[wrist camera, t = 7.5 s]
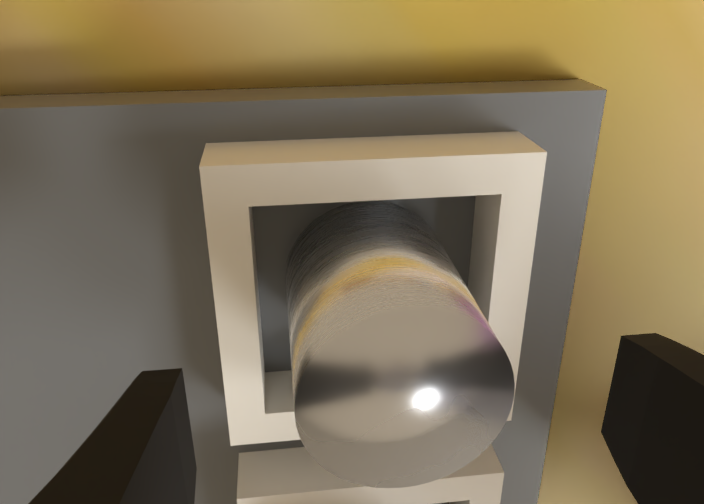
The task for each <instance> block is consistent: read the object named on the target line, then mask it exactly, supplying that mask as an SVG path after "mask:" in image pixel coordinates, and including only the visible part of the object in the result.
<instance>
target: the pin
mask: <svg viewBox="0 0 704 504" xmlns="http://www.w3.org/2000/svg"><path fill="white" fill-rule="evenodd" d="M286 294H287V309H288V324H289V339H290V353H291V368H292V383H293V398H294V413H295V421H296V427H297V430H298V434H299V437H300V439H301V441H302V443H303V445H304V447H305V448H306V450H307V451H308V452H309V454H310V455H311V456H312V457H313V459H314V460H315V461H316V462H317V463H318V464H319V465H321V466H322V467H323V468H325V469H326V470H327V471H329V472H330V473H332V474H334V475H336V476H337V477H339V478H342V479H344V480H347V481H349V482H352V483H355V484H359V485H363V486H369V487H375V488H404V487H411V486H417V485H421V484H425V483H429V482H432V481H435V480H438V479H441V478H443V477H445V476H447V475H450V474H452V473H454V472H456V471H457V470H459V469H461V468H463V467H464V466H466V465H467V464H469V463H470V462H471V461H473V460H474V459H476V458H477V457H478V456H479V455H480V454H481V453H482V452H484V451H485V450H486V449H487V448H488V446H489V445H490V444H491V443H492V442H493V441H494V440H495V438H496V437H497V436H498V434H499V433H500V431H501V430H502V428H503V426H504V424H505V422H506V421H507V418H508V416H509V413H510V411H511V408H512V403H513V399H514V388H515V383H514V373H513V370H512V366H511V362H510V360H509V358H508V356H507V354H506V352H505V350H504V348H503V347H502V345H501V343H500V342H499V340H498V338H497V337H496V335H495V333H494V332H493V330H492V328H491V327H490V325H489V323H488V322H487V320H486V318H485V316H484V315H483V313H482V311H481V310H480V308H479V306H478V305H477V303H476V301H475V300H474V298H473V296H472V295H471V293H470V291H469V290H468V288H467V286H466V285H465V283H464V281H463V280H462V278H461V276H460V274H459V273H458V271H457V269H456V268H455V266H454V264H453V263H452V261H451V259H450V258H449V256H448V254H447V253H446V251H445V249H444V248H443V246H442V244H441V243H440V241H439V239H438V238H437V236H436V234H435V233H434V231H433V230H432V228H431V227H430V226H429V225H428V224H427V223H426V222H425V221H424V220H423V219H422V218H421V217H420V216H418V215H417V214H415V213H414V212H412V211H411V210H409V209H407V208H404V207H402V206H400V205H397V204H393V203H390V202H384V201H357V202H352V203H348V204H344V205H341V206H339V207H336V208H334V209H332V210H330V211H328V212H326V213H324V214H323V215H321V216H320V217H318V218H317V219H315V220H314V221H313V222H312V223H311V224H310V225H308V226H307V228H306V229H305V230H304V231H303V232H302V233H301V234H300V236H299V237H298V239H297V240H296V242H295V244H294V246H293V248H292V250H291V252H290V255H289V258H288V261H287V267H286Z"/></svg>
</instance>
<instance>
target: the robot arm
mask: <svg viewBox="0 0 704 504" xmlns="http://www.w3.org/2000/svg"><path fill="white" fill-rule="evenodd" d="M601 432H602V435H603V437H604V439H605V441H606V443H607V446H608V448H609V450H610V452H611V454H612V457H613V459H614V461H615V463H616V465H617V467H618V469H619V471H620V473H621V475H622V477H623V479H624V481H625V483H626V485H627V487H628V488H629V490H630V491H631V493H632V495H633V496H634V498H635V499H636V501H637V502H638V504H704V355H702V354H700V353H698V352H696V351H694V350H692V349H690V348H688V347H686V346H684V345H682V344H680V343H678V342H675V341H673V340H671V339H669V338H666V337H664V336H661V335H659V334H656V333H652V334H639V335H625V336H621V340H620V345H619V349H618V354H617V359H616V364H615V368H614V373H613V378H612V383H611V387H610V392H609V397H608V402H607V406H606V411H605V416H604V420H603V425H602V430H601ZM196 472H197V467H196V460H195V453H194V446H193V439H192V432H191V425H190V418H189V411H188V404H187V398H186V391H185V384H184V377H183V370H182V368H177V369H163V370H149V371H142V372H141V373H140V374H139V375H138V376H137V377H136V378H135V379H134V380H133V382H132V383H131V384H130V385H129V387H128V388H127V389H126V390H125V392H124V393H123V394H122V396H121V397H120V398H119V399H118V401H117V402H116V403H115V404H114V406H113V407H112V408H111V409H110V411H109V412H108V413H107V414H106V416H105V417H104V418H103V419H102V421H101V422H100V423H99V424H98V426H97V427H96V428H95V429H94V430H93V432H92V433H91V434H90V435H89V436H88V438H87V439H86V440H85V441H84V442H83V443H82V445H81V446H80V447H79V448H78V449H77V450H76V452H75V453H74V454H73V455H72V456H71V457H70V459H69V460H68V461H67V462H66V463H65V464H64V466H63V467H62V468H61V469H60V470H59V471H58V472H57V474H56V475H55V476H54V477H53V478H52V479H51V480H50V481H49V482H48V483H47V484H46V485H45V486H44V487H43V489H42V490H41V491H40V492H39V493H38V494H37V495H36V496H35V497H34V498H33V499H32V500H31V501H30V502H29V503H28V504H194V501H195V487H196Z"/></svg>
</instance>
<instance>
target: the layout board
mask: <svg viewBox="0 0 704 504" xmlns="http://www.w3.org/2000/svg"><path fill="white" fill-rule="evenodd" d="M606 91H607V90H606V89H603V88H601V87H599V86H596V85H594V84H591V83H589V82H587V81H584V80H582V79H566V80H531V81H496V82H461V83H427V84H392V85H357V86H322V87H288V88H253V89H218V90H183V91H149V92H114V93H79V94H44V95H9V96H0V504H28V503H29V502H30V501H31V500H32V499H33V498H34V497H35V496H36V495H37V494H38V493H39V492H40V491H41V490H42V489H43V487H44V486H45V485H46V484H47V483H48V482H49V481H50V480H51V479H52V478H53V477H54V476H55V475H56V474H57V472H58V471H59V470H60V469H61V468H62V467H63V466H64V464H65V463H66V462H67V461H68V460H69V459H70V457H71V456H72V455H73V454H74V453H75V452H76V450H77V449H78V448H79V447H80V446H81V445H82V443H83V442H84V441H85V440H86V439H87V438H88V436H89V435H90V434H91V433H92V432H93V430H94V429H95V428H96V427H97V426H98V424H99V423H100V422H101V421H102V419H103V418H104V417H105V416H106V414H107V413H108V412H109V411H110V409H111V408H112V407H113V406H114V404H115V403H116V402H117V401H118V399H119V398H120V397H121V396H122V394H123V393H124V392H125V390H126V389H127V388H128V387H129V385H130V384H131V383H132V382H133V380H134V379H135V378H136V377H137V376H138V375H139V374H140V373H141V372H142V371H149V370H163V369H177V368H182V370H183V377H184V384H185V391H186V398H187V404H188V411H189V418H190V425H191V432H192V439H193V446H194V453H195V460H196V467H197V472H196V487H195V501H194V504H537V502H538V496H539V490H540V484H541V478H542V472H543V466H544V460H545V454H546V448H547V442H548V436H549V430H550V424H551V418H552V412H553V407H554V401H555V395H556V389H557V383H558V377H559V371H560V365H561V359H562V353H563V347H564V341H565V335H566V329H567V323H568V317H569V311H570V305H571V299H572V294H573V288H574V282H575V276H576V270H577V264H578V258H579V252H580V246H581V240H582V234H583V228H584V222H585V216H586V210H587V204H588V198H589V192H590V186H591V180H592V175H593V169H594V163H595V157H596V151H597V145H598V139H599V133H600V127H601V121H602V115H603V109H604V103H605V97H606ZM357 201H384V202H390V203H393V204H397V205H400V206H402V207H404V208H407V209H409V210H411V211H412V212H414V213H415V214H417V215H418V216H420V217H421V218H422V219H423V220H424V221H425V222H426V223H427V224H428V225H429V226H430V227H431V228H432V230H433V231H434V233H435V234H436V236H437V238H438V239H439V241H440V243H441V244H442V246H443V248H444V249H445V251H446V253H447V254H448V256H449V258H450V259H451V261H452V263H453V264H454V266H455V268H456V269H457V271H458V273H459V274H460V276H461V278H462V280H463V281H464V283H465V285H466V286H467V288H468V290H469V291H470V293H471V295H472V296H473V298H474V300H475V301H476V303H477V305H478V306H479V308H480V310H481V311H482V313H483V315H484V316H485V318H486V320H487V322H488V323H489V325H490V327H491V328H492V330H493V332H494V333H495V335H496V337H497V338H498V340H499V342H500V343H501V345H502V347H503V348H504V350H505V352H506V354H507V356H508V358H509V360H510V362H511V366H512V370H513V373H514V383H515V388H514V399H513V403H512V408H511V411H510V413H509V416H508V418H507V421H506V422H505V424H504V426H503V428H502V430H501V431H500V433H499V434H498V436H497V437H496V438H495V440H494V441H493V442H492V443H491V444H490V445H489V446H488V448H487V449H486V450H485V451H484V452H482V453H481V454H480V455H479V456H478V457H477V458H476V459H474V460H473V461H471V462H470V463H469V464H467V465H466V466H464V467H463V468H461V469H459V470H457V471H456V472H454V473H452V474H450V475H447V476H445V477H443V478H441V479H438V480H435V481H432V482H429V483H425V484H421V485H417V486H411V487H404V488H375V487H369V486H363V485H359V484H355V483H352V482H349V481H347V480H344V479H342V478H339V477H337V476H336V475H334V474H332V473H330V472H329V471H327V470H326V469H325V468H323V467H322V466H321V465H319V464H318V463H317V462H316V461H315V460H314V459H313V457H312V456H311V455H310V454H309V452H308V451H307V450H306V448H305V447H304V445H303V443H302V441H301V439H300V437H299V434H298V430H297V427H296V421H295V413H294V398H293V383H292V368H291V353H290V339H289V324H288V309H287V294H286V267H287V261H288V258H289V255H290V252H291V250H292V248H293V246H294V244H295V242H296V240H297V239H298V237H299V236H300V234H301V233H302V232H303V231H304V230H305V229H306V228H307V226H308V225H310V224H311V223H312V222H313V221H314V220H315V219H317V218H318V217H320V216H321V215H323V214H324V213H326V212H328V211H330V210H332V209H334V208H336V207H339V206H341V205H344V204H348V203H352V202H357Z"/></svg>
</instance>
